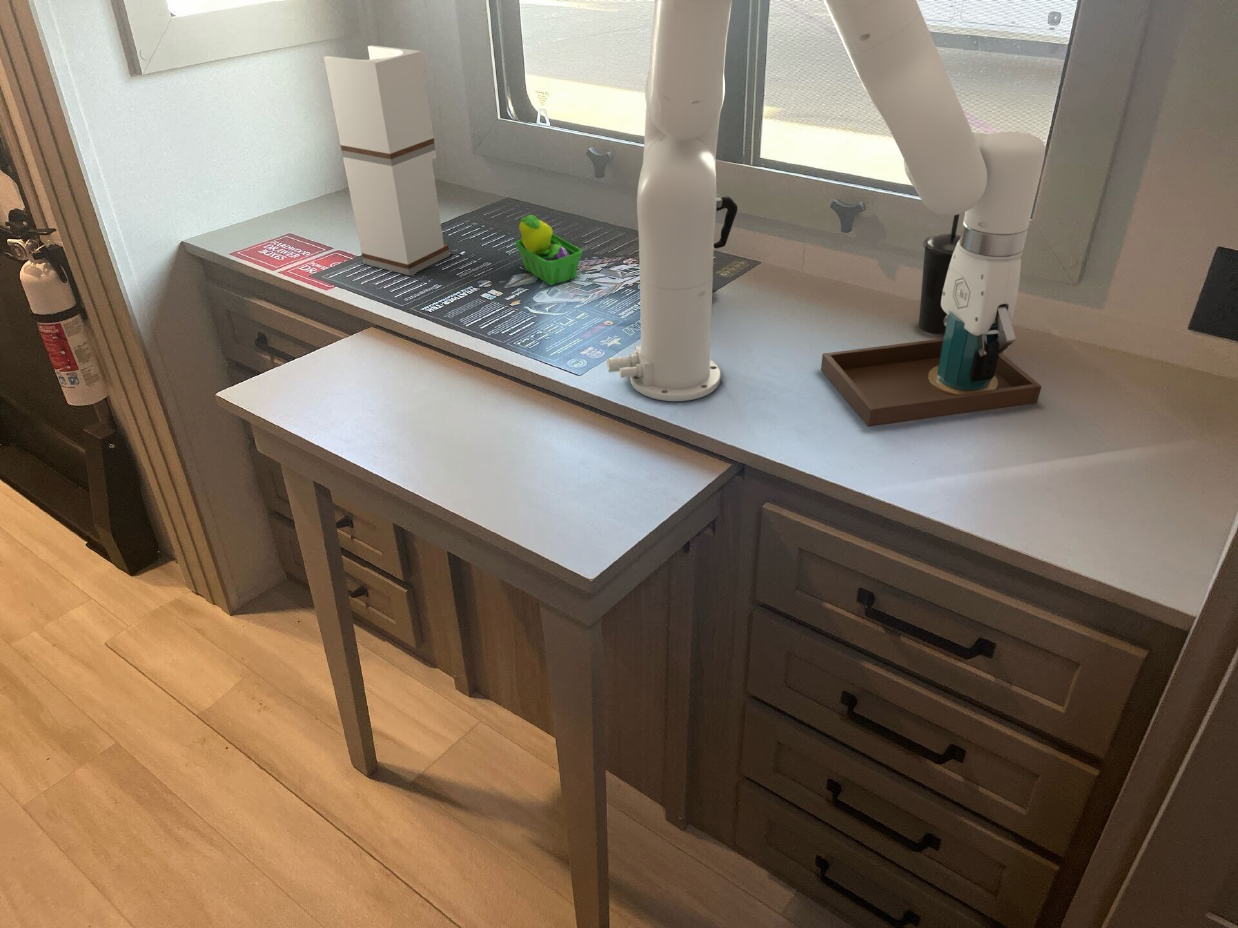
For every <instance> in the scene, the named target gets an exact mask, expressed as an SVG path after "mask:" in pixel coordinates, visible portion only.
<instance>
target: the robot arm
mask: <svg viewBox="0 0 1238 928" xmlns="http://www.w3.org/2000/svg"><path fill="white" fill-rule="evenodd" d="M823 2H824V5H825V7H826V9H827V11H828V14H829V16H830V18H831V20H832V22H833V24H834V27H835V28H836V31H837V33H838V36H839V37H840V39H841V42H842V44H843V46H844V49H845V50H846V53H847V55H848V57H849V59H850V61H851V64H852V66H853V68H854V70H855V73H856V74H857V77H858V79H859V81H860V83H861V85H862V87H863V89H864V91H865V94H866V95H867V96H868V98H869V100H870V101H871V102H872V104H873V105H874V107H875V108H876V110H877V112H879V114H880V116H881V117H882V119H883V120H884V122H885V124H886V126H887V127H888V129H889V131H890V134H891V135H892V138H893V140H894V141H895V143H896V146H897V147H898V150H899V152H900V154H901V157H902V158H903V166H904V171H905V174H906V176H907V179H908V180H909V182H910V183H911V185H912V186H913V188H914V190H915V191H916V193H917V195H918V196H919V199H920V200H921V202H922V204H923V205H924V206H925V207H926V209H928V210H930V211H932V212H933V213H935V214H938V215H940V216H946V217H947V216H954V215H958V214H960V215H961V214H963V213H964V218H963V222H962V226H961V232H960V234H961V237H960V240H959V241H958V243H957V245H956V247H955V250H954V252H953V255H952V258H951V261H950V265H949V268H948V272H947V276H946V280H945V284H944V288H943V289H942V292H943V293H942V298H941V307H942V309H943V310H944V311H945V314H946V317H945V318H944V325H945V326H946V323H947V318H948V314H949V311H950V312H952V315H954V316H955V317H956V318H957V319H958V320H961V321H963V322H964V323H965V326H964V328H965V329H966V330H967V331H968V332H969V333H971V334H972V335H975V336H978V350H979V352H977V353H975V354H974V359H973V363H972V368H971V373H970V380H972V381H981V380H988V379H992V378H993V377H994V374H995V370H996V365H997V361H998V356H999V354H1001V353H1002V354H1003V353H1004V351H1005V350H1007V349H1008V348H1009V346H1011V345H1012V344H1013V343H1015V342H1016V340H1017V338H1016V334H1015V331H1014V327H1013V324H1012V322H1013V320H1014V319H1013V318H1014V314H1015V311H1016V306H1017V300H1018V294H1019V287H1020V279H1021V269H1022V258H1021V257H1022V255H1023V252H1024V248H1025V243H1026V239H1027V236H1028V231H1029V226H1030V221H1031V218H1032V214H1033V209H1034V204H1035V201H1036V196H1037V192H1038V187H1039V182H1040V179H1041V178H1040V177H1041V173H1042V170H1043V165H1044V161H1045V156H1046V145H1045V143H1044V141H1043V140H1042V139H1041V138H1040V137H1038V136H1036V135H1033V134H1032V133H1031V134H1030V133H1028V132H1027V133H1026V132H1021V131H998V132H993V133H992V132H991V133H982V132H973V130H972V127H971V126H970V123H969V121H968V118H967V116H966V113H965V112H964V110H963V107H962V104H961V103H960V99H959V98H958V96H957V94H956V91H955V89H954V87H953V85H952V82H951V81H950V78H949V76H948V73H947V71H946V68H945V65H944V62H943V60H942V57H941V55H940V52H939V50H938V48H937V45H936V43H935V42H934V41H935V40H934V39H933V37H932V34H931V31H930V30H929V27H928V25H927V23H926V20H925V18H924V15H923V13H922V11H921V8H920V6H919V3H918V1H917V0H823ZM732 4H733V0H654V7H653V18H652V19H653V21H652V29H651V38H650V39H651V40H650V41H651V42H650V57H649V67H648V72H647V75H646V76H647V77H646V81H645V86H644V87H645V88H644V97H645V121H644V122H645V123H644V124H645V125H644V141H643V142H644V143H643V158H642V166H641V169H640V174H639V179H638V184H637V191H636V192H637V193H636V213H637V231H638V257H639V260H638V261H639V262H638V264H639V310H640V315H639V316H640V345H636V346H635V347H634V348H635V349H634V351H635V352H634V353H629V354H628V356H622V357H620V356H617V357H609V358H606V368H607V372H608V373H615V372H616V373H617V372H619V377H620V379H624V378H629V380H630V383H631V386H632V388H634V389H635V390H636V391H637V392H638V393H640V394H642V395H643V396H646V397H648V398H650V399H654V400H657V401H664V402H687V401H693V400H697V399H701V398H703V397H705V396H707V395H710V394H711V393H713V392H714V391H715V390H717V388H718V387H719V385H720V384H721V381H722V380H721V379H722V378H721V377H722V375H721V374H722V373H721V368H720V367H719V366H718V365H717V364H716V363H715V362H714V361H713V360H711V342H712V341H711V340H712V314H713V312H712V311H713V310H712V308H713V299H712V293H713V283H714V278H713V277H714V249H715V248H714V243H715V230H716V216H717V211H716V198H718V197H717V195H718V194H717V173H716V161H717V159H716V157H717V150H718V149H717V147H718V137H719V127H720V118H721V111H722V107H723V105H724V100H725V95H726V82H725V65H726V64H725V62H726V52H727V51H726V50H727V41H728V32H729V28H730V27H729V26H730V20H731V11H732ZM992 324H996V325H997V329H993V330H989V329H990V327H991V325H992ZM945 328H946V327H945ZM944 334H945V330H944ZM944 334H942V338H943V339H944ZM992 334H995V336H994V341H992V342H991V343H989V344H987V338H986V335H992ZM942 344H943V341H942ZM941 349H942V346H941Z"/></svg>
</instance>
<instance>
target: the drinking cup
mask: <svg viewBox="0 0 1238 928" xmlns="http://www.w3.org/2000/svg"><path fill="white" fill-rule="evenodd" d="M960 215H961V214H958V215H953V219H952V225H951V230H950V232H942V233H938V234H933V235H930V236H927V237H925V239H924V240H923V243H922V245H923V247H924V254H923V267H922V280H921V290H920V291H921V294H920V304H919V318H918V328H919V329H920V330H922V331H923V332H925V333H929V334H933V335H944V330H945V327H946V326H945V325H944V318H945V317H946V314H945V311H944V310H943V309H942V307H941V298H942V293H943V292H942V289H943V288H944V284H945V280H946V276H947V272H948V268H949V265H950V261H951V258H952V255H953V252H954V250H955V247H956V245H957V243H958V241H959V240H960V237H961V233H957V231H958V225H959V220H960Z"/></svg>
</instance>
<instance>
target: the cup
mask: <svg viewBox="0 0 1238 928" xmlns="http://www.w3.org/2000/svg"><path fill="white" fill-rule="evenodd" d="M964 326H965V323H964V322H963V321H961V320H958V319H957V318H956V317H955V316H954V315H952V312H950V311H949V314H948V318H947V323H946V328H945V334H943V335H944V339H943V344H942V349H941V354H940V360H939V365H938V372H937V378H938V380H939V381H940V382H941V383H943V384H944V385H946V386H948V387H950V388H953V389H957V390H963V391H977V390H981V389H984V388H986V387H987V386H988V385H989V384H990V381H991V379H988V380H981V381H972V380H970V373H971V368H972V363H973V359H974V354H975V353H977V352H979V350H978V336H975V335H972V334H971V333H969V332H968V331H967V330H966V329H965V328H964ZM993 329H997V325H996V324H992V325H991V327H990V329H989V330H993ZM994 336H995V334H992V335H986V338H987V344H989V343H991V342H992V341H994Z"/></svg>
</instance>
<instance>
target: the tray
mask: <svg viewBox="0 0 1238 928" xmlns="http://www.w3.org/2000/svg"><path fill="white" fill-rule="evenodd" d="M942 341H943V337H942V338H937V339H936V338H935V339H927V340H919V341H911V342H903V343H896V344H889V345H887V344H886V345H880V346H879V345H878V346H872V347H863V348H856V349H848V350H840V351H833V352H824V353H822V356H821V366H820V370H821V372H822V373H823V374H824V375H825V377H826V378H827V379H828V380H829V382H830V383H831V384H832V386H834V388H835V389H836V390H837V391H838V393H840V395H841V396H842V397H843V399H844V400H845V401H846V402H847V403H848V404H849V406H850V407H851V408H852V410H853V411H855V413H856V414H857V415H858V417H860V419H861V420H862V421H863V422H864V424H865V425H866V426H867V427H868V428H870V427H877V426H878V427H879V426H884V425H891V424H899V423H906V422H913V421H920V420H927V419H933V418H934V419H935V418H941V417H949V416H955V415H956V416H957V415H962V414H969V413H977V412H984V411H992V410H998V409H999V410H1000V409H1006V408H1013V407H1019V406H1028V405H1035V404H1038V402H1039V398H1040V394H1041V390H1042V387H1043V386H1042V385H1041V384H1040V383H1039V382H1037V381H1036V380H1035V379H1034V378H1032V376H1031V375H1029V374H1028V373H1026V372H1025V371H1024V370H1023V369H1022V368H1020V367H1019V365H1017V364H1015V363H1014V362H1013V361H1012V360H1010V359H1009V358H1008V356H1006V355H1005V354H1003V352H1002V353H1001V354H999V356H998V361H997V365H996V370H995V374H994V376H995V377H996V378H997V380H998V387H997V389H994V390H987V391H979V392H972V393H965V394H957V395H952V394H949V393H946V392H944V391H941V390H939V389H938V388H936V387H935V386H933V385H932V384H931V383H930V381H929V378H928V375H929V372H930V370H931V369H932V368H934V367H936V366H938V365H939V360H940V354H941V346H942Z"/></svg>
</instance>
